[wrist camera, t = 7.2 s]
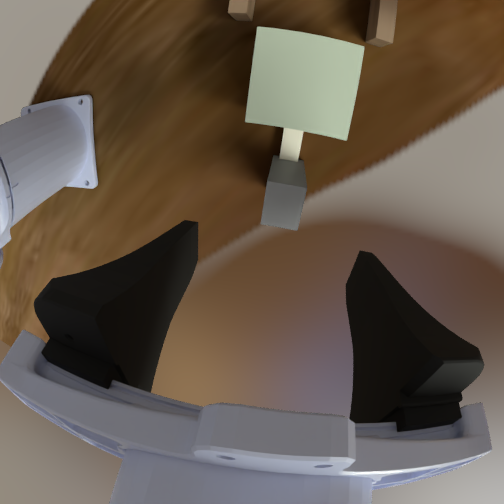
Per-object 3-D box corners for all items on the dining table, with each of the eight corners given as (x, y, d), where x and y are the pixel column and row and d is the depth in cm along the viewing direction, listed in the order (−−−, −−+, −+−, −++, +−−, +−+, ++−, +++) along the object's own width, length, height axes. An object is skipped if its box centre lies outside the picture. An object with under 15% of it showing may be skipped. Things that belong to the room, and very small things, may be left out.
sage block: (265, 39, 13) (256, 24, 9) (346, 54, 13) (367, 45, 9) (246, 185, 19) (233, 219, 15) (317, 198, 19) (324, 235, 15)
